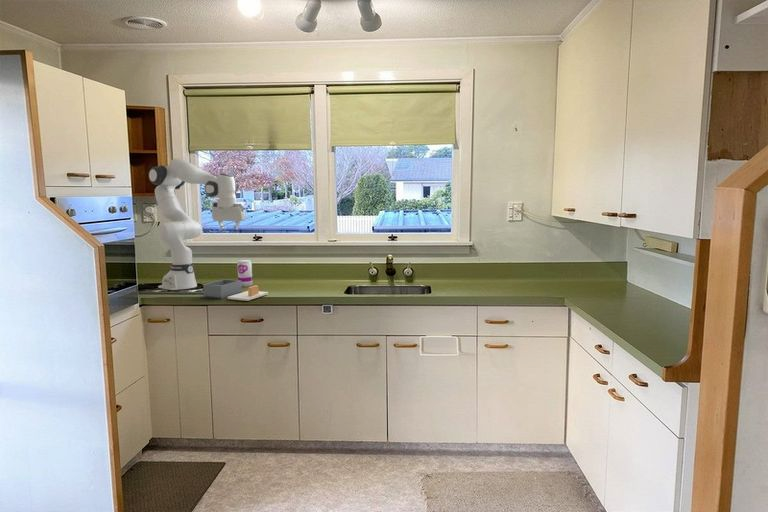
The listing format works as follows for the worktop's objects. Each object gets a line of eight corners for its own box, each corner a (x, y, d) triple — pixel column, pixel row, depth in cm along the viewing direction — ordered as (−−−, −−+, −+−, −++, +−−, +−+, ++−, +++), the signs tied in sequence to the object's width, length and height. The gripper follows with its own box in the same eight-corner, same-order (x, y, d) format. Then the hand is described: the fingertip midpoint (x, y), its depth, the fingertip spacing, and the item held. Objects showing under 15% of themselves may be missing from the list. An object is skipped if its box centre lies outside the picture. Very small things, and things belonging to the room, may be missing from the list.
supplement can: (248, 287, 290) (247, 261, 288) (235, 286, 292) (234, 261, 290) (255, 284, 298) (253, 259, 296) (242, 284, 300) (241, 259, 298)
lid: (227, 300, 257) (226, 288, 256) (248, 294, 273) (248, 282, 272) (248, 302, 252) (247, 290, 251) (268, 295, 267) (267, 283, 266)
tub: (203, 297, 264) (203, 284, 263) (224, 291, 279) (224, 279, 278) (221, 299, 259) (220, 285, 258) (241, 293, 274) (241, 280, 273)
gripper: (247, 203, 268) (248, 229, 270) (217, 203, 276) (219, 228, 278) (239, 203, 262) (240, 230, 264) (209, 204, 271) (211, 229, 272)
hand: (229, 229), depth 271 cm, fingers open, 8 cm apart
